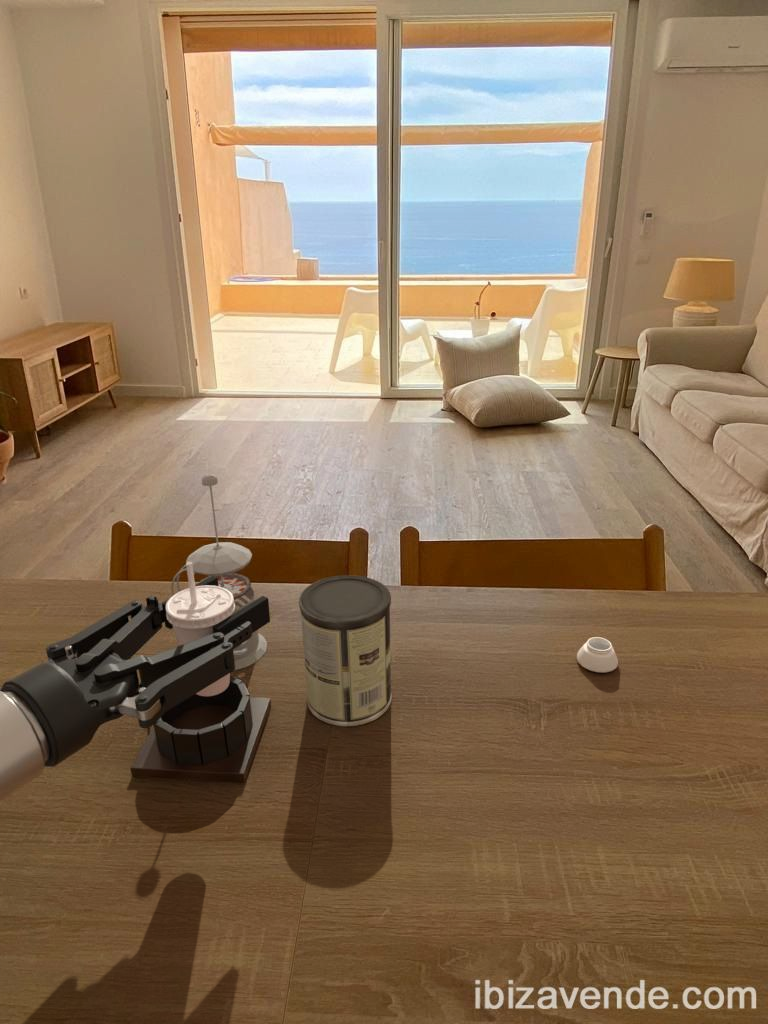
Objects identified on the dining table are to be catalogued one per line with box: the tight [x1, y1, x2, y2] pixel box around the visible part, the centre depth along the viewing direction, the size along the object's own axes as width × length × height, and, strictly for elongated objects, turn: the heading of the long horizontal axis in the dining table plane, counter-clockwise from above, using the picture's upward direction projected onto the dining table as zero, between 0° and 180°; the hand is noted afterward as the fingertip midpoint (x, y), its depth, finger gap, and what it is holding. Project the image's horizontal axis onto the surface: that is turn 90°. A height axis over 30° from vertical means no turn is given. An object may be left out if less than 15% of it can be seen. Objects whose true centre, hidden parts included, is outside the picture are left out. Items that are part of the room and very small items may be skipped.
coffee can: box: [298, 574, 393, 727], centre depth 80 cm, size 10×10×14 cm
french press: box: [170, 473, 268, 671], centre depth 88 cm, size 10×12×25 cm
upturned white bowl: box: [576, 636, 619, 673], centre depth 89 cm, size 5×3×5 cm
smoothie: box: [166, 562, 236, 696], centre depth 67 cm, size 6×6×14 cm
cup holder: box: [130, 674, 272, 783], centre depth 76 cm, size 12×12×5 cm
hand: (240, 598), depth 70 cm, fingers closed on smoothie, 6 cm apart
